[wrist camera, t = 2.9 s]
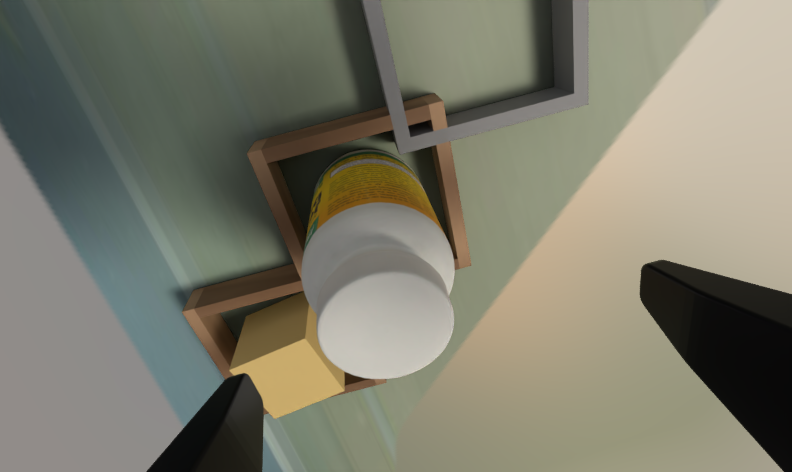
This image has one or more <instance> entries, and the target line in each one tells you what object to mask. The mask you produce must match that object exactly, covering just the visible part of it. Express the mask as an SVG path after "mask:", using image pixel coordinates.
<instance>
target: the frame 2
mask: <svg viewBox="0 0 792 472" xmlns="http://www.w3.org/2000/svg"><path fill="white" fill-rule="evenodd" d="M301 291H304V290H303V286H302V280H301V278H300V276H299V273H298V271H297V269H296V266H295V264H290V265H286V266H283V267H279V268H275V269H271V270H268V271H264V272H260V273H256V274H252V275H249V276H245V277H241V278H237V279H233V280H230V281H226V282H222V283H218V284H215V285H211V286H207V287H203V288H199V289H196V290H193V292H192V294H191V296H190V298H189V300H188V302H187V303H186V305H185V307H184V309H183V311H182V313H183V315H184V316H185V318H186V319H187V321H188V322H189V324H190V325H191V327H192V328H193V330H194V332H195V333H196V335H197V336H198V338H199V339H200V341H201V342H202V344H203V346H204V347H205V349H206V350H207V352H208V353H209V355H210V356H211V358H212V359H213V361H214V363H215V364H216V366H217V367H218V369H219V370H220V372H221V373H222V375H223V377H224V378H225V380H226V379H227V378H228V377H230V376H234V375H233V374H232V373H231V372H230V371H229V369H230V366H231V362H232V359H233V356H234V353H235V350H236V347H237V341H236V340H235V338H234V336H233V335H232V333H231V331H230V329H229V328H228V326H227V324H226V323H225V321H224V319H223V317H222V316H221V314H220V313H221V312H225V311H228V310H232V309H236V308H240V307H244V306H247V305H251V304H255V303H259V302H263V301H266V300H270V299H274V298H278V297H282V296H285V295H289V294H293V293H297V292H301ZM344 377H345V391H343V392H341V393H338V394H336V395H333V396H337V395H340V394H344V393H348V392H352V391H356V390H360V389H363V388H367V387H371V386H375V385H379V384H383V383H386V379H369V378H362V377H358V376H354V375H351V374H349V373H347V372H345V371H344ZM333 396H331V397H333ZM328 398H329V397H328ZM267 413H269V412H268V411H267V410H266V409H265V408H264V414H267Z"/></svg>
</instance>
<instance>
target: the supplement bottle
mask: <svg viewBox="0 0 792 472" xmlns="http://www.w3.org/2000/svg"><path fill="white" fill-rule="evenodd" d="M454 274H455V266H454V258H453V253H452V250H451V247H450V244H449V242H448V240H447V238H446V236H445V233H444V231H443V229H442V227H441V225H440V223H439V221H438V219H437V217H436V215H435V213H434V210H433V208H432V206H431V204H430V202H429V200H428V197H427V195H426V193H425V191H424V189H423V187H422V184H421V182H420V181H419V179H418V177H417V175H416V174H415V172H414V171H413V170H412V169H411V168H410V167H409V166H408V165H407V164H406V163H405V162H404V161H402V160H401V159H399V158H398V157H396V156H394V155H392V154H390V153H387V152H384V151H380V150H369V149H368V150H358V151H353V152H350V153H347V154H345V155H343V156H341V157H340V158H338V159H337V160H335V161H334V162H333V163H332V164H331V165H329V166H328V167H327V169H326V170H325V171H324V172H323V174H322V175H321V176H320V178H319V180H318V182H317V184H316V187H315V190H314V195H313V200H312V207H311V213H310V219H309V224H308V231H307V236H306V242H305V247H304V253H303V259H302V269H301V279H302V286H303V290H304V293H305V296H306V298H307V301H308V303H309V305H310V306H311V308H312V309H313V311H314V312H315V313H316V314H317V321H316V323H317V338H318V342H319V345H320V347H321V349H322V351H323V353H324V354H325V356H326V357H327V358H328V359H329V360H330V361H331V362H332V363H333V364H334V365H335V366H337V367H338V368H340V369H341V370H343V371H345V372H347V373H349V374H351V375H354V376H358V377H362V378H369V379H391V378H397V377H401V376H405V375H408V374H411V373H413V372H415V371H418V370H420V369H421V368H423V367H425V366H426V365H428V364H430V363H431V362H432V361H433V360H435V359H436V358H437V357H438V356H439V355H440V354H441V352H442V351H443V350H444V349H445V347H446V346H447V344H448V342H449V340H450V338H451V335H452V332H453V327H454V312H453V308H452V304H451V301H450V299H449V294H450V292H451V289H452V286H453V281H454Z"/></svg>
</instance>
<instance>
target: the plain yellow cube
mask: <svg viewBox="0 0 792 472" xmlns="http://www.w3.org/2000/svg"><path fill="white" fill-rule="evenodd" d="M316 321H317V314H316V313H315V312H314V311H313V309H312V308H311V306H310V305H309V303H308V301H307V298H306V296H305V293H304V291H303V292H301V293H299V294H296V295H294V296H292V297H289V298H287V299H285V300H282V301H280V302H278V303H276V304H273V305H271V306H269V307H266V308H264V309H262V310H259V311H257V312H255V313H252V314H250V315H248V316H246V318H245V321H244V324H243V328H242V331H241V334H240V337H239V340H238V343H237V347H236V350H235V353H234V356H233V359H232V362H231V366H230V369H229V371H230V372H231V373H232V374H233V375H238V374H242V373H246V374H248V375H249V376H250V378H251V380H252V381H253V383H254V385H255V387H256V388H257V390H258V392H259V394H260V395H261V397H262V400H263V406H264V408H265V409H266V410H267V411H268V412H269V413H270V414H271V416H272V417H273V418H274V419H276V418H278V417H281V416H283V415H286V414H288V413H291V412H293V411H296V410H298V409H301V408H303V407H306V406H308V405H311V404H313V403H316V402H318V401H321V400H323V399H326V398H328V397H331V396H333V395H336V394H338V393H341V392H343V391H345V377H344V371H343V370H341V369H340V368H338V367H337V366H335V365H334V364H333V363H332V362H331V361H330V360H329V359H328V358H327V357H326V356H325V354H324V353H323V351H322V349H321V347H320V345H319V342H318V338H317V323H316Z"/></svg>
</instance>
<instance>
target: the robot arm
mask: <svg viewBox="0 0 792 472" xmlns="http://www.w3.org/2000/svg"><path fill="white" fill-rule="evenodd" d="M640 298H641V301H642V303H643V305H644V306H645V307H646V309H647V310H648V312H649V313H650V314H651V316H652V317H653V318H654V320H655V321H656V323H657V324H658V325H659V327H660V328H661V330H662V331H663V332H664V333H665V335H666V336H667V338H668V339H669V340H670V342H671V343H672V345H673V346H674V347H675V349H676V350H677V351H678V353H679V354H680V355H681V357H682V358H683V359H684V360H685V362H686V363H687V364H688V365H689V366H690V368H691V369H692V370H693V371H694V372H695V373H696V374H697V375H698V377H700V379H701V380H702V381H703V382H704V383H705V384H706V385H707V387H708V388H709V389H710V390H711V391H712V392H713V393H714V394H715V395H716V397H717V398H718V399H719V400H720V401H721V402H722V403H723V404H724V405H725V407H726V408H727V409H728V410H729V411H730V412H731V413H732V415H733V416H734V417H735V418H736V419H737V420H738V421H739V422H740V423H741V424H742V426H743V427H744V428H745V429H746V430H747V431H748V432H749V433H750V435H751V436H752V437H753V438H754V439H755V440H756V441H757V442H758V443H759V445H760V446H761V447H762V448H763V449H764V450H765V451H766V452H767V454H768V455H769V456H770V457H771V458H772V459H773V460H774V461H775V462H776V464H778V466H779V467H780V468H781V469H782V470H783V471H784V472H792V294H789V293H785V292H782V291H778V290H773V289H770V288H767V287H763V286H759V285H755V284H751V283H748V282H744V281H740V280H737V279H733V278H729V277H725V276H722V275H718V274H714V273H710V272H707V271H703V270H699V269H696V268H692V267H688V266H684V265H681V264H677V263H673V262H670V261H666V260H658V261H655V262H651V263H647V264H645V265H643V267H642V269H641V281H640ZM263 417H264V406H263V400H262V397H261V395H260V394H259V392H258V390H257V388H256V387H255V385H254V383H253V381H252V380H251V378H250V376H249V375H248V374H246V373H242V374H238V375H234V376H230V377H228V378H227V379H226V380H225V381H224V382H223V383H222V384H221V385H220V386H219V388H218V389H217V390H216V391H215V392H214V393H213V395H212V396H211V397H210V398H209V399H208V400H207V402H206V403H205V404H204V405H203V406H202V407H201V409H200V410H199V411H198V412H197V413H196V414H195V416H194V417H193V418H192V419H191V420H190V421H189V423H188V424H187V425H186V426H185V427H184V428H183V430H182V431H181V432H180V433H179V434H178V435H177V437H176V438H175V439H174V440H173V441H172V442H171V444H170V445H169V446H168V447H167V448H166V449H165V451H164V452H163V453H162V454H161V455H160V457H159V458H158V459H157V460H156V461H155V462H154V463H153V465H152V466H151V467H150V468H149V469H148V470H147V472H262V463H263Z"/></svg>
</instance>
